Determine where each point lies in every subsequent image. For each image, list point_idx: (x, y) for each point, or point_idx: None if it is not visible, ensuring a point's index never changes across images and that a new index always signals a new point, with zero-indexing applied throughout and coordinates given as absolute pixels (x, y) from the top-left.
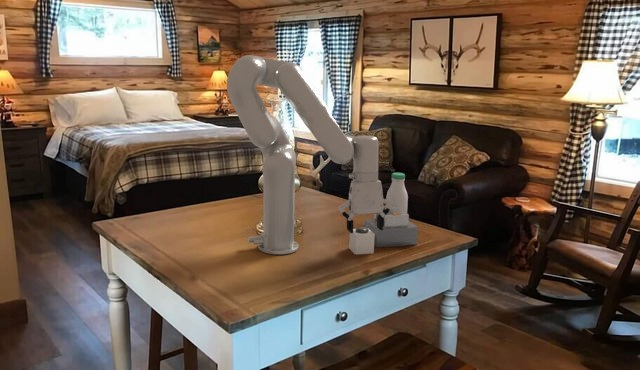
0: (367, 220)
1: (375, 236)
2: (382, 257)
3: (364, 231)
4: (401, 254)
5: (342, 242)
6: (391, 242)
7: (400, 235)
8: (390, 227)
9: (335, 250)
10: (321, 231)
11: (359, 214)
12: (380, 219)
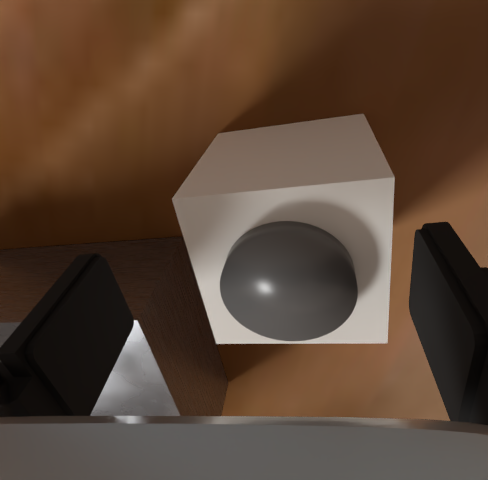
0: None
1: (172, 300)
2: (162, 34)
3: (278, 231)
4: (28, 98)
5: None
6: None
7: (9, 286)
8: None
9: (482, 209)
10: None
11: (425, 425)
12: (39, 342)
